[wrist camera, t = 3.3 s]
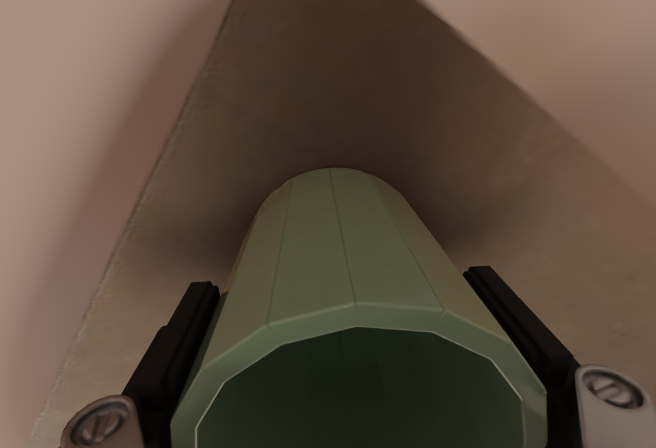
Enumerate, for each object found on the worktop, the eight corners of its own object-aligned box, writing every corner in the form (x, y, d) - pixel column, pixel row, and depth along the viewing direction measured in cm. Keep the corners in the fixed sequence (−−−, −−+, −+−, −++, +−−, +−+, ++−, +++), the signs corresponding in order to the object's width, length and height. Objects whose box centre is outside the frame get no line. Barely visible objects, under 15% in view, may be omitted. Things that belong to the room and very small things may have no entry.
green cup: (298, 131, 13) (279, 228, 5) (453, 219, 15) (630, 400, 7) (220, 280, 16) (118, 513, 7) (361, 342, 17) (407, 587, 9)
